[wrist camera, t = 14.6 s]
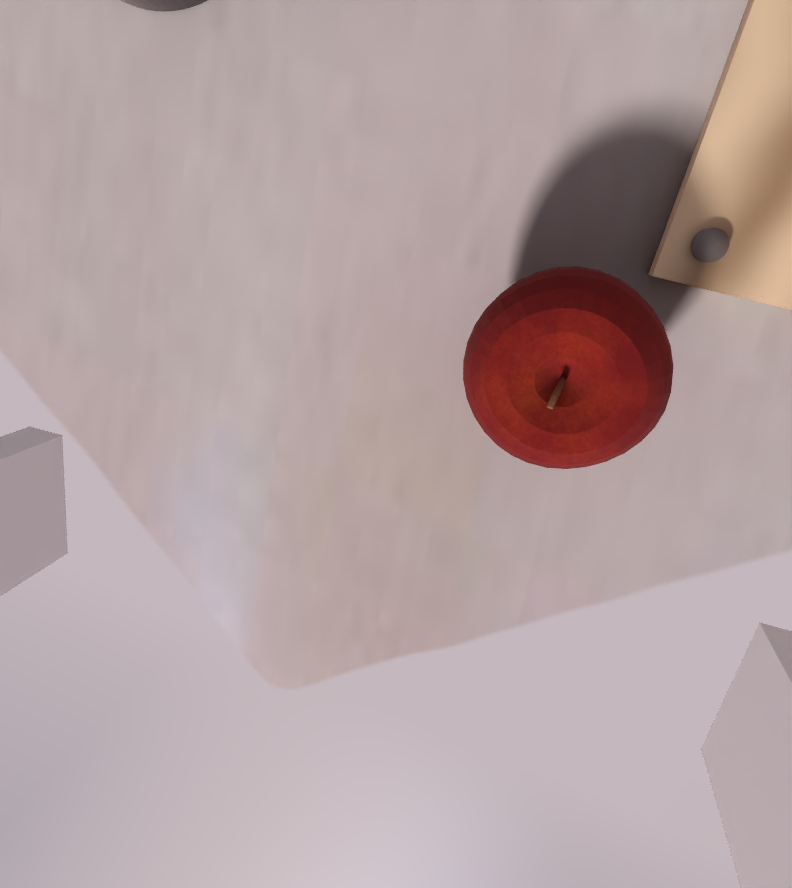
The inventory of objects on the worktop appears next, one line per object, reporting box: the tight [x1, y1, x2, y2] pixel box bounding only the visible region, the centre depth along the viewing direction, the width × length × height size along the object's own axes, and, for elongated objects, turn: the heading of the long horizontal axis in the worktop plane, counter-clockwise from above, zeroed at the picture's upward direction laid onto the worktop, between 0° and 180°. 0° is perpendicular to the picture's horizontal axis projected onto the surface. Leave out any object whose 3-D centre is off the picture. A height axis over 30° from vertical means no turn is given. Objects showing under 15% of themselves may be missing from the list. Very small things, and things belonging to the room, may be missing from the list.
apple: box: [463, 267, 673, 469], centre depth 30 cm, size 10×10×10 cm
